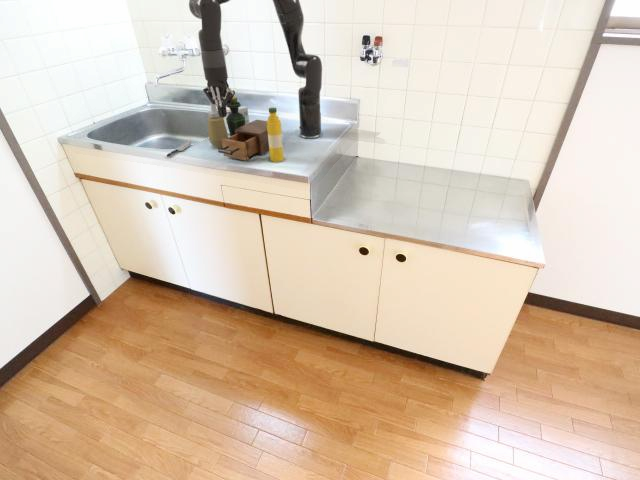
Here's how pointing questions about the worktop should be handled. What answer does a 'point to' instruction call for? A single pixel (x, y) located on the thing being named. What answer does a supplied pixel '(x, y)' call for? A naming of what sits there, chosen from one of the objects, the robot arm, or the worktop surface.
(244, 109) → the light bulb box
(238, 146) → the drawer
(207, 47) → the robot arm
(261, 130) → the cabinet
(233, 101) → the potion bottle
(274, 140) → the lemon bottle
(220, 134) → the squeeze bottle
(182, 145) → the chef's knife
